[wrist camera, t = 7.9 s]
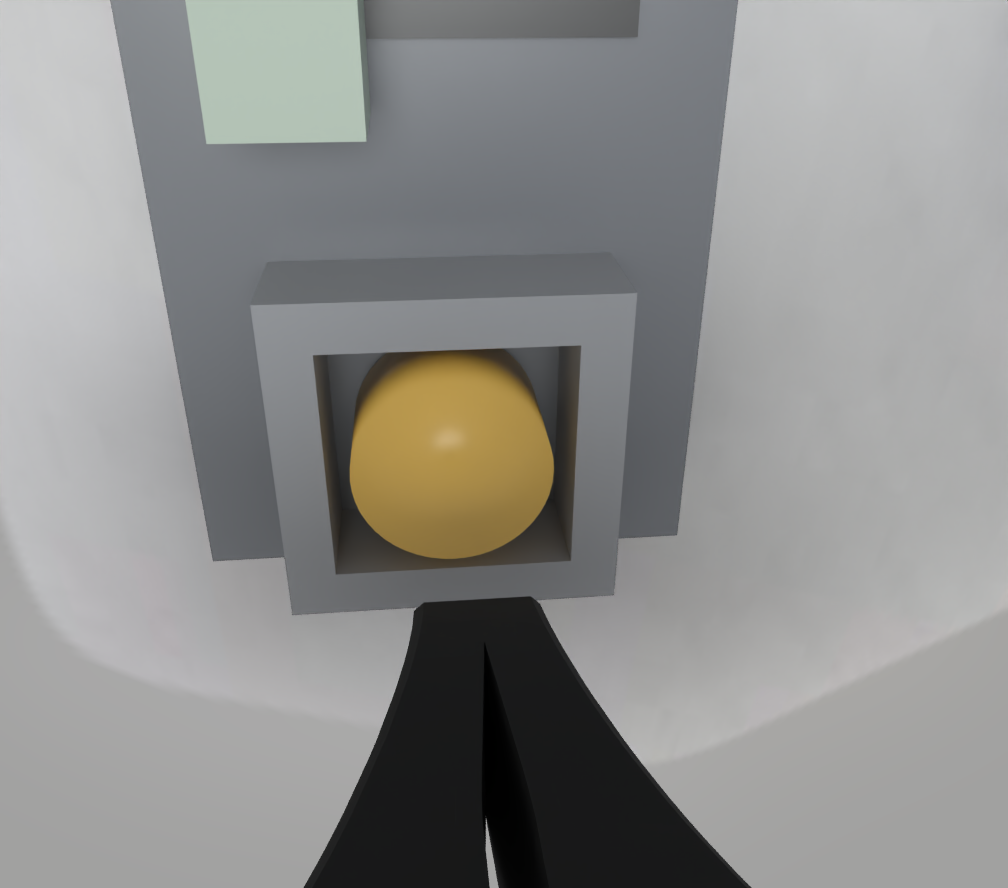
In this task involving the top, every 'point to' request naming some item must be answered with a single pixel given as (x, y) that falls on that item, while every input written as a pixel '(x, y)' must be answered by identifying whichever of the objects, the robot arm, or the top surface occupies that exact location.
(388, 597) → the control panel
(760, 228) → the top surface
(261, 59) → the sage green cuboid
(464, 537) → the amber button
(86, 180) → the top surface
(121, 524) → the top surface
